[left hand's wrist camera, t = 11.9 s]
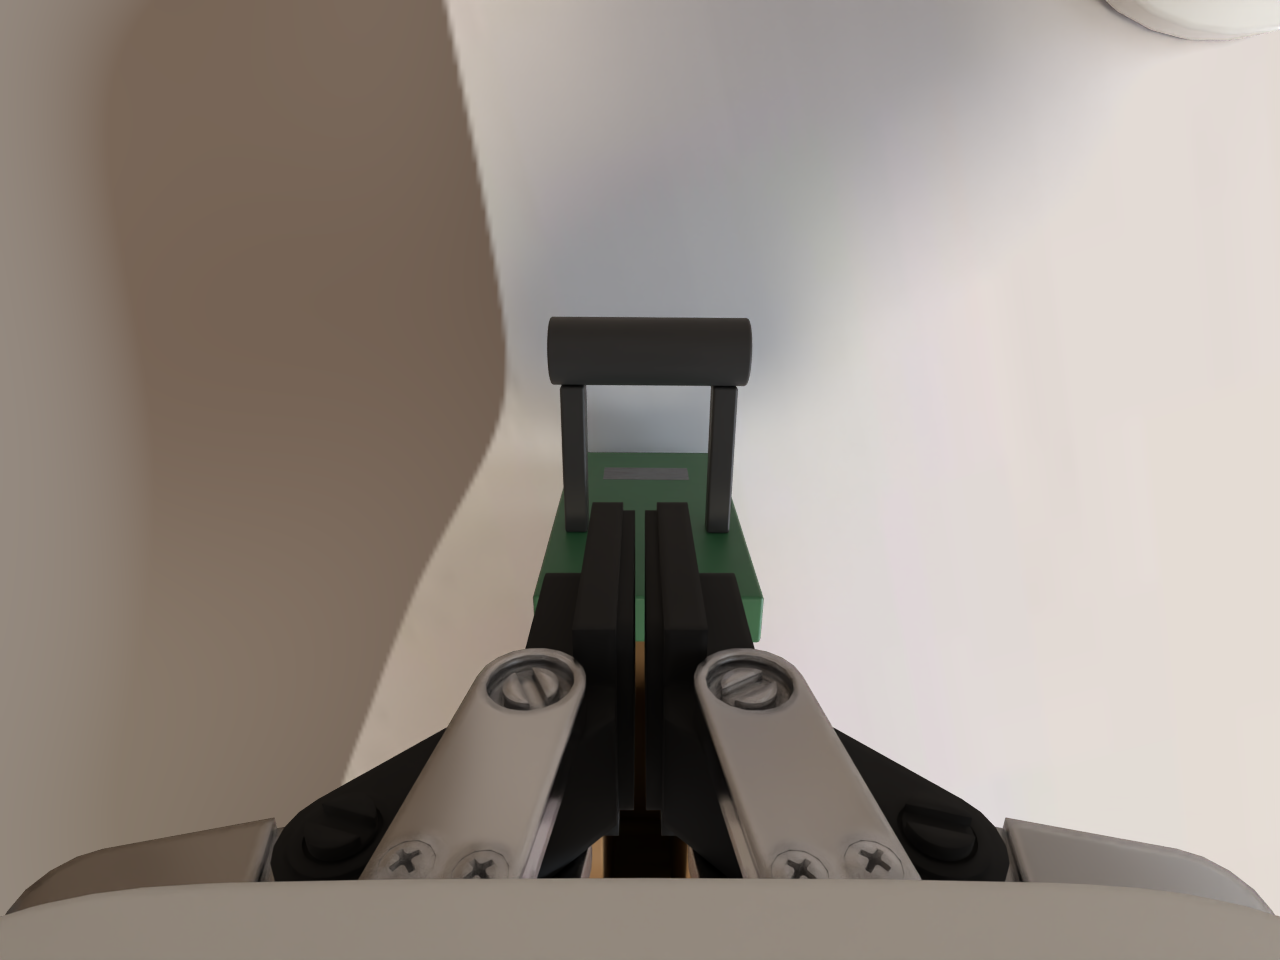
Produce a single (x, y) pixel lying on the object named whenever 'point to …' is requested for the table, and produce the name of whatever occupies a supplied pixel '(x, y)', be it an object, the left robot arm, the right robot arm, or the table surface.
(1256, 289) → the table surface
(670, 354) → the drawer
